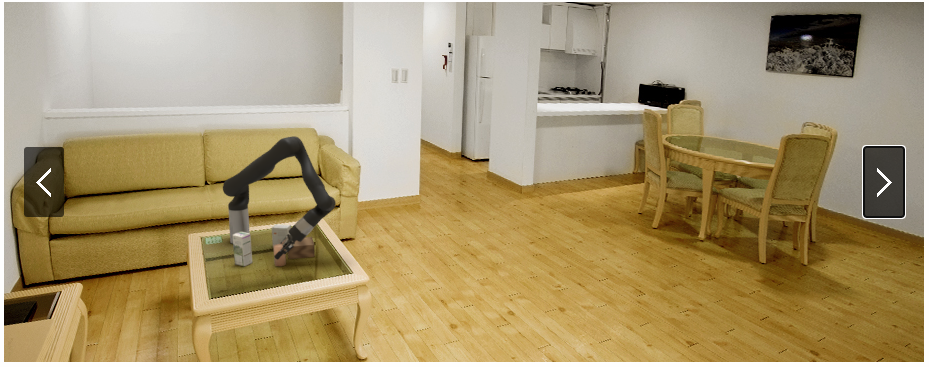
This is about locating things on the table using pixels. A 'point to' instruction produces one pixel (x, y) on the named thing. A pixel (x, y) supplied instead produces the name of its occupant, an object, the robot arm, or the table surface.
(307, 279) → the table surface
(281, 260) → the terracotta cylinder
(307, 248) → the walnut block
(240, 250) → the syrup box
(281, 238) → the small box
